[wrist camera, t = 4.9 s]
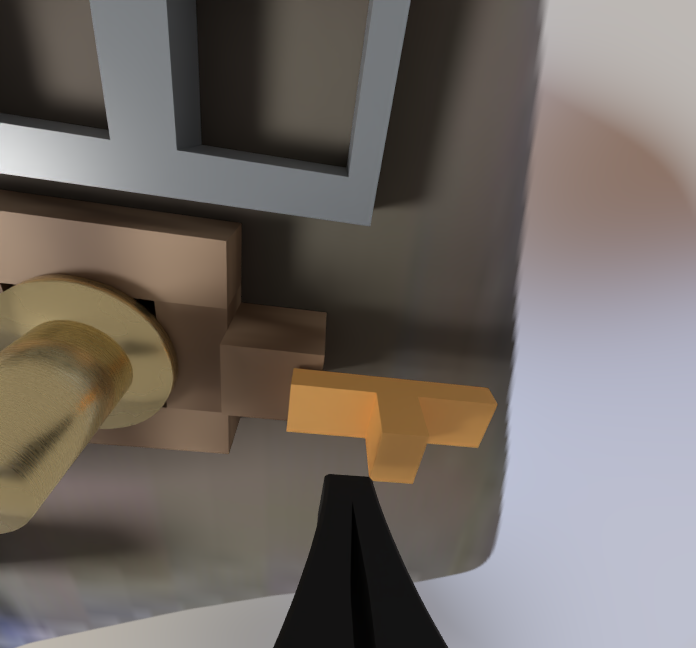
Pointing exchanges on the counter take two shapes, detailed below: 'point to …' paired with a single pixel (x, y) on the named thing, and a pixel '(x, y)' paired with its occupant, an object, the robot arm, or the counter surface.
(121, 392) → the brass peg
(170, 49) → the rack
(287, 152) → the counter surface
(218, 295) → the socket block
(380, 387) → the latch bar
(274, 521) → the counter surface
